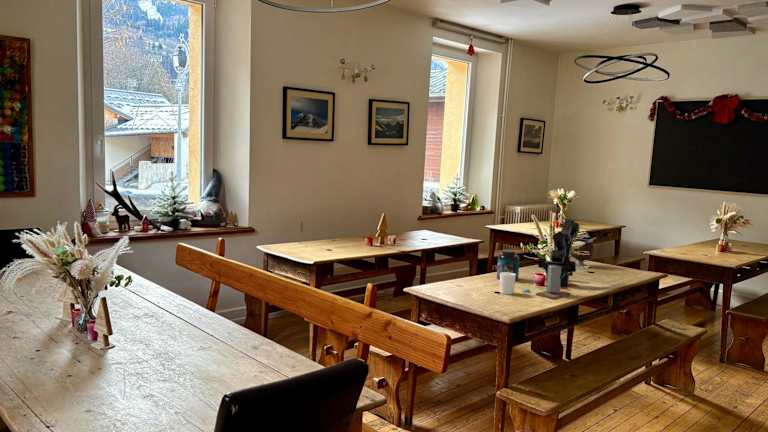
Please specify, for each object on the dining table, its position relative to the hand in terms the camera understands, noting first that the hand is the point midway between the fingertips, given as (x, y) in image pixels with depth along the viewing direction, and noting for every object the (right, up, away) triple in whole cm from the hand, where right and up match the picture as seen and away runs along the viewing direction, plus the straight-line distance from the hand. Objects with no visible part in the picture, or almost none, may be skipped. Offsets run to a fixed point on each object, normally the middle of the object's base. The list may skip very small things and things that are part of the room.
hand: (553, 278), depth 282 cm
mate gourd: (+43, -2, +83) cm, 93 cm away
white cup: (-23, -8, +3) cm, 25 cm away
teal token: (-12, -8, +7) cm, 16 cm away
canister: (0, -6, +2) cm, 7 cm away
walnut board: (0, -9, +2) cm, 9 cm away
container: (-15, -5, +36) cm, 40 cm away
